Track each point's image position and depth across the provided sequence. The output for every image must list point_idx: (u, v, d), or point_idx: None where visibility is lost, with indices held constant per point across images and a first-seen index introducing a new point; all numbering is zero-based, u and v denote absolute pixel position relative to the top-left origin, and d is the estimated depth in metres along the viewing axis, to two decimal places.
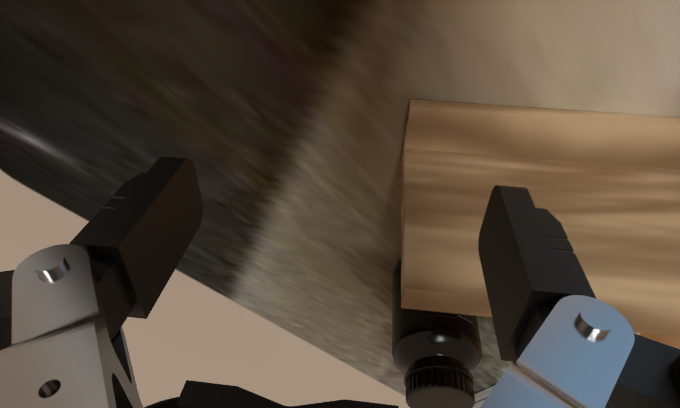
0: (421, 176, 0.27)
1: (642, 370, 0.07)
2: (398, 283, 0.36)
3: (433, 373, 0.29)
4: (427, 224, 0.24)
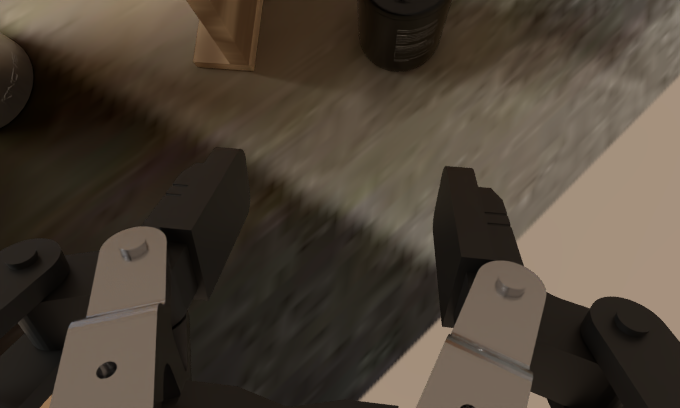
0: None
1: (554, 326, 0.08)
2: (378, 52, 0.33)
3: None
4: None
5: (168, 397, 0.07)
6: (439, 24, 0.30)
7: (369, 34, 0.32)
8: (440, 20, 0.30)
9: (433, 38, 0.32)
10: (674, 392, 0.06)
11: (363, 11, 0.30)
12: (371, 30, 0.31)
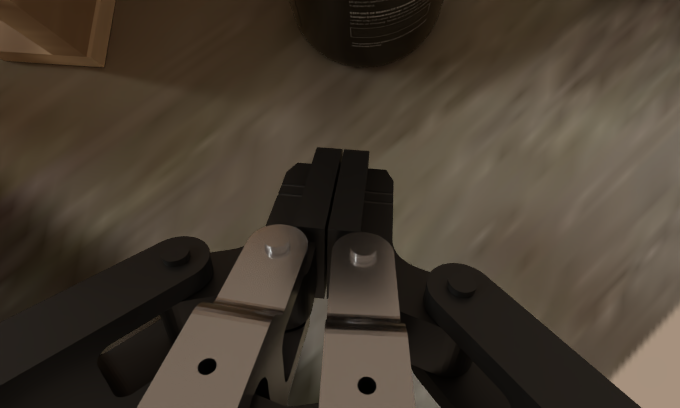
0: None
1: (401, 291, 0.08)
2: (320, 28, 0.17)
3: None
4: None
5: None
6: None
7: None
8: None
9: None
10: (509, 337, 0.07)
11: None
12: None
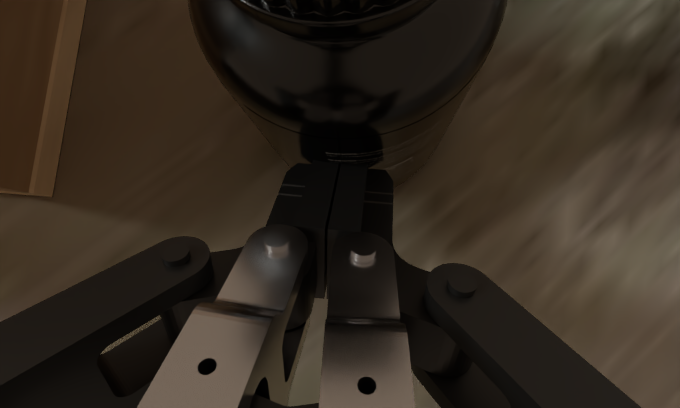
0: None
1: (401, 291, 0.08)
2: None
3: None
4: None
5: None
6: (446, 123, 0.11)
7: (268, 140, 0.13)
8: (449, 117, 0.11)
9: (430, 146, 0.13)
10: (509, 337, 0.07)
11: None
12: (266, 136, 0.12)
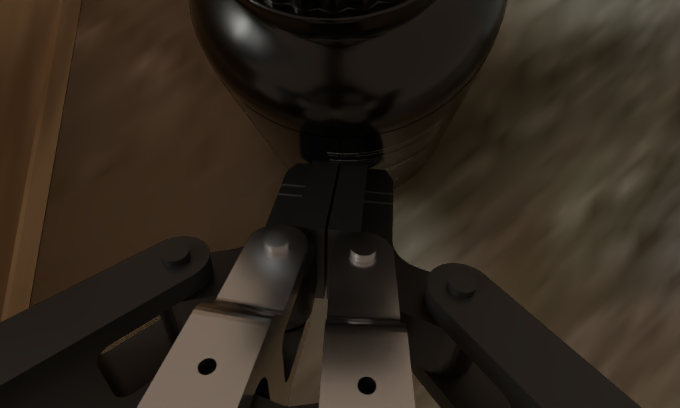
0: None
1: (401, 291, 0.08)
2: None
3: None
4: None
5: None
6: (446, 123, 0.11)
7: (268, 141, 0.13)
8: (449, 116, 0.11)
9: (430, 146, 0.13)
10: (509, 337, 0.07)
11: None
12: (267, 137, 0.12)
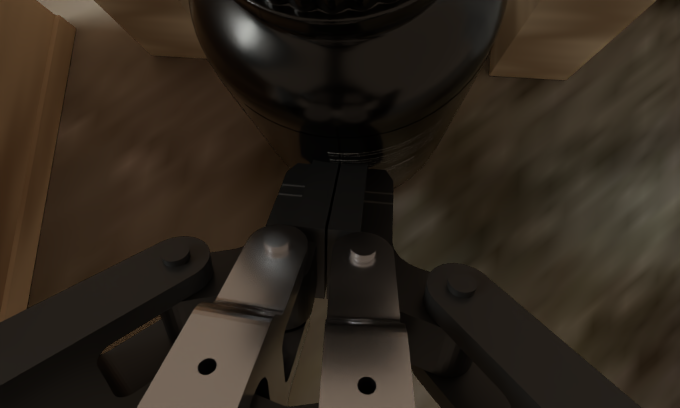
0: None
1: (401, 291, 0.08)
2: None
3: None
4: None
5: None
6: (447, 122, 0.11)
7: (269, 140, 0.13)
8: (450, 116, 0.11)
9: (430, 146, 0.13)
10: (509, 337, 0.07)
11: None
12: (267, 137, 0.12)
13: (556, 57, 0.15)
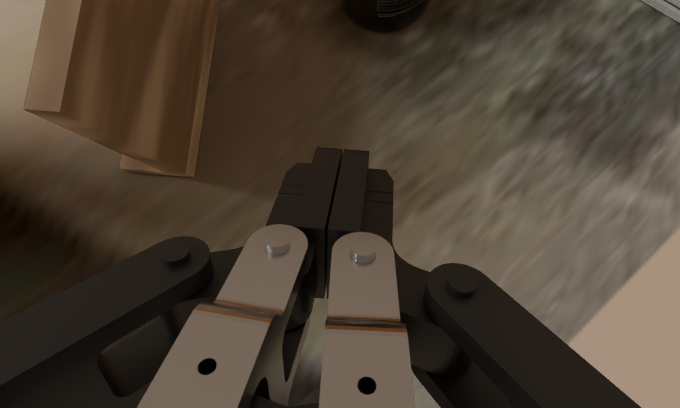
0: None
1: (401, 291, 0.08)
2: (359, 5, 0.28)
3: None
4: None
5: None
6: None
7: None
8: None
9: None
10: (509, 337, 0.07)
11: None
12: None
13: None
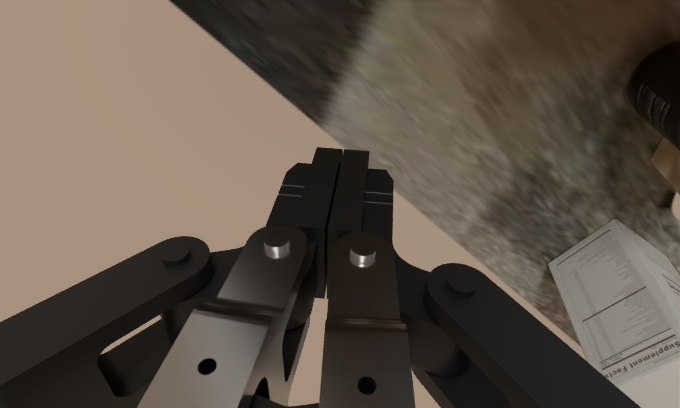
0: None
1: (401, 291, 0.08)
2: (656, 71, 0.34)
3: None
4: None
5: None
6: None
7: (678, 69, 0.33)
8: (664, 136, 0.34)
9: (650, 123, 0.36)
10: (509, 337, 0.07)
11: None
12: None
13: (664, 160, 0.40)
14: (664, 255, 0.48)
